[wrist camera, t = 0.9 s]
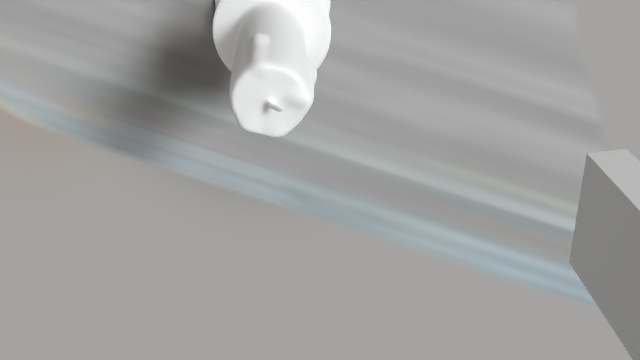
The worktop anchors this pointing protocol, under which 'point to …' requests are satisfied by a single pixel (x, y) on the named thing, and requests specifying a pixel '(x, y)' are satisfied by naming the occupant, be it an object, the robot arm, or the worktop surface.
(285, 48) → the candle
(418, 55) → the worktop surface
